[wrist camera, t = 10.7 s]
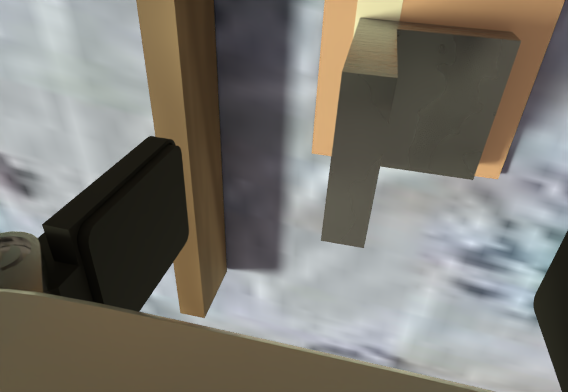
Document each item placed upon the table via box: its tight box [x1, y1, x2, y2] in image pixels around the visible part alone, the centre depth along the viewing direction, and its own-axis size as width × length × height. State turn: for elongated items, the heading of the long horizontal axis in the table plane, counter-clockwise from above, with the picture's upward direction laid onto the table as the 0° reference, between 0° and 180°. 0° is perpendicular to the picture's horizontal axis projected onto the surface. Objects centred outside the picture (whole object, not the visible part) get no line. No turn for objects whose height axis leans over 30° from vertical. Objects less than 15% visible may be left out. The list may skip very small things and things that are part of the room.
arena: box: [136, 0, 227, 318], centre depth 18 cm, size 26×23×4 cm
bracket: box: [321, 18, 521, 248], centre depth 16 cm, size 6×6×8 cm
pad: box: [312, 0, 565, 179], centre depth 19 cm, size 9×9×1 cm
